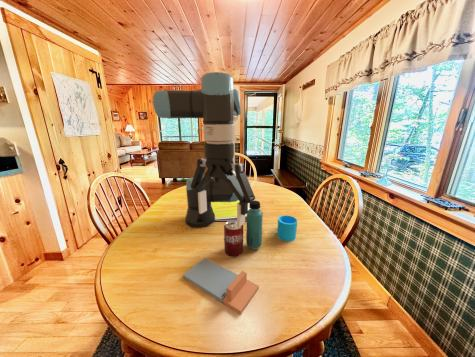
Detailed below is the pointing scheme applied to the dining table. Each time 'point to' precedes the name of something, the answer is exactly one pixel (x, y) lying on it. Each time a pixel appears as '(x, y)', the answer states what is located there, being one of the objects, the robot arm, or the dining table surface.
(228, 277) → the ticket
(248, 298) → the stub
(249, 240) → the beverage bottle
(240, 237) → the soda can
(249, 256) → the dining table surface
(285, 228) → the mug
